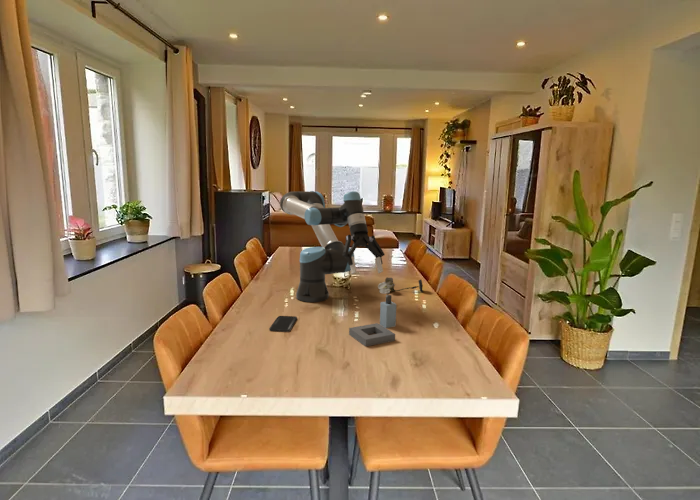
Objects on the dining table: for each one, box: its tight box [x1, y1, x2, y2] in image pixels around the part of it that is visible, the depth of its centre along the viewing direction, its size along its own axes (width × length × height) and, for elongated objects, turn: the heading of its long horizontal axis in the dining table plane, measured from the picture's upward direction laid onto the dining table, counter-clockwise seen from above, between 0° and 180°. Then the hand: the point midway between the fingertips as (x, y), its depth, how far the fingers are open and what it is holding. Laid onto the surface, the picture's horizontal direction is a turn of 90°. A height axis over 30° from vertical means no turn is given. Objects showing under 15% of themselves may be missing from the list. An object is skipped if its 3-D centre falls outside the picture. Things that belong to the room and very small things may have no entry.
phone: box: [268, 315, 298, 333], centre depth 164 cm, size 8×1×15 cm
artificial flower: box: [377, 276, 424, 295], centre depth 211 cm, size 9×22×10 cm, turn 90°
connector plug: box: [379, 294, 397, 329], centre depth 164 cm, size 4×4×12 cm
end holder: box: [348, 322, 396, 347], centre depth 152 cm, size 12×12×2 cm
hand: (367, 272), depth 177 cm, fingers open, 13 cm apart
